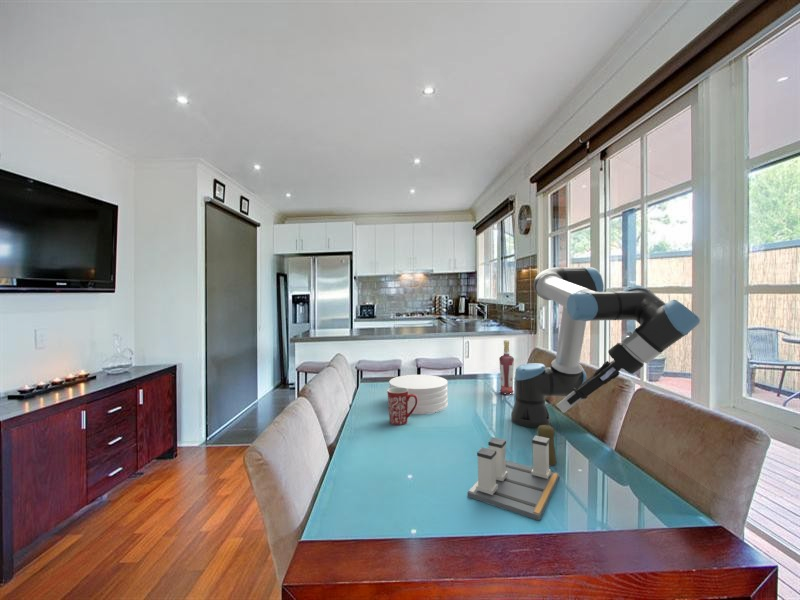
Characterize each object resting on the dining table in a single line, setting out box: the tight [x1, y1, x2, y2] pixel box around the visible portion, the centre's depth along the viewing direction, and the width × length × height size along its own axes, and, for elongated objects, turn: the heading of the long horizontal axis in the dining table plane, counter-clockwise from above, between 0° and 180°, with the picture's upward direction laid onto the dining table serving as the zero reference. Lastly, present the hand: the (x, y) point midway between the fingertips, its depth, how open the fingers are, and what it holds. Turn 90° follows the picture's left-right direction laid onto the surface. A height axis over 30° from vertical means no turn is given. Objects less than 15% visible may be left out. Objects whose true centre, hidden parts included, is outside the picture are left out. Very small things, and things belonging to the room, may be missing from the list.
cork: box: [536, 425, 557, 467], centre depth 112 cm, size 6×6×11 cm
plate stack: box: [388, 374, 449, 415], centre depth 171 cm, size 28×28×12 cm
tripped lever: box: [531, 435, 552, 479], centre depth 101 cm, size 4×4×10 cm
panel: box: [467, 459, 560, 522], centre depth 97 cm, size 18×23×1 cm
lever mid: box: [487, 436, 508, 481], centre depth 100 cm, size 4×4×10 cm
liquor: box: [498, 340, 515, 395], centre depth 188 cm, size 7×7×28 cm
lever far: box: [476, 447, 498, 495], centre depth 93 cm, size 4×4×10 cm
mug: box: [386, 387, 417, 426], centre depth 147 cm, size 13×9×14 cm
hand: (560, 408), depth 98 cm, fingers closed
